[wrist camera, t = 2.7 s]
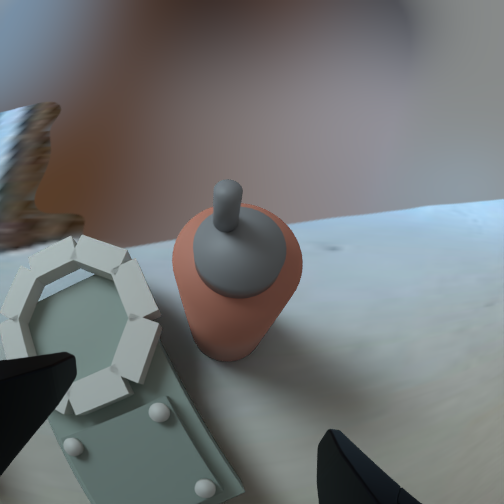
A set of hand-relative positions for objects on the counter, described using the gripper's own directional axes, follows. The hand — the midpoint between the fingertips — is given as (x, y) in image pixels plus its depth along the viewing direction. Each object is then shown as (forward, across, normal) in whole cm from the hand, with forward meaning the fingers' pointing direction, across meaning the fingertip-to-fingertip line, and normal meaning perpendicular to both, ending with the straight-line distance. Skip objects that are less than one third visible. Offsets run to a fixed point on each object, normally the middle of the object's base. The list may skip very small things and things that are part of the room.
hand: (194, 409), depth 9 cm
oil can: (+14, 0, -5) cm, 14 cm away
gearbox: (+8, -7, -10) cm, 15 cm away
